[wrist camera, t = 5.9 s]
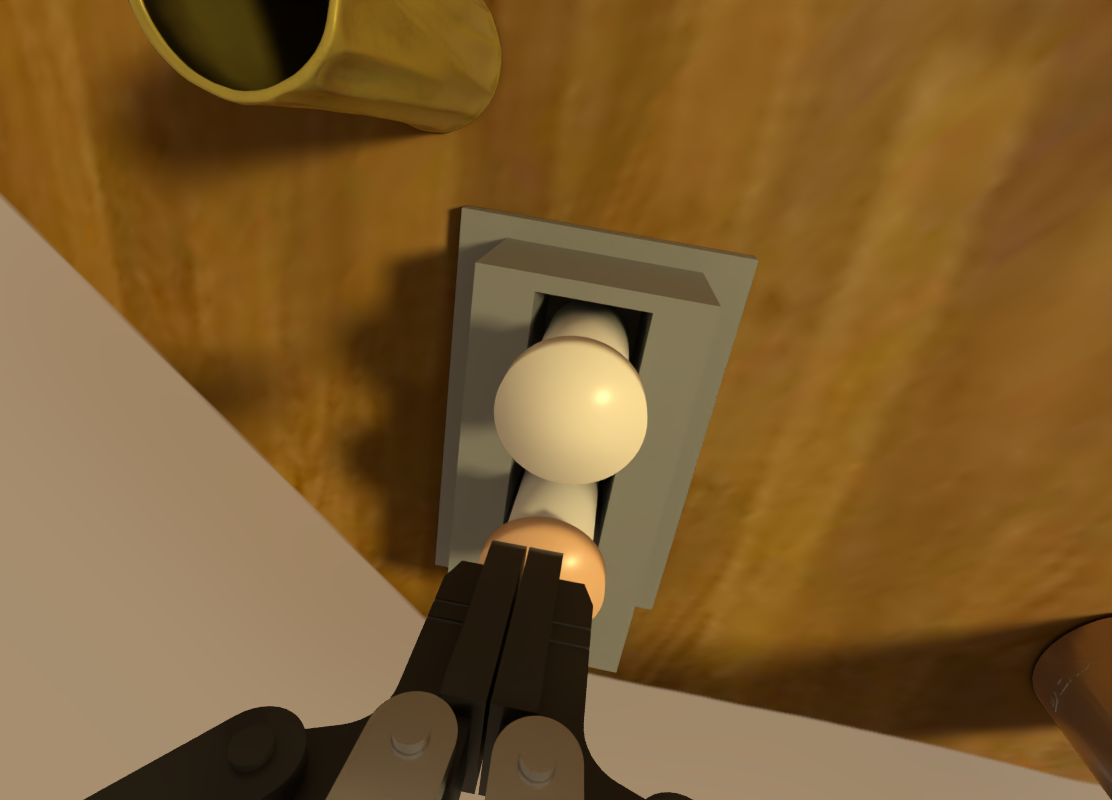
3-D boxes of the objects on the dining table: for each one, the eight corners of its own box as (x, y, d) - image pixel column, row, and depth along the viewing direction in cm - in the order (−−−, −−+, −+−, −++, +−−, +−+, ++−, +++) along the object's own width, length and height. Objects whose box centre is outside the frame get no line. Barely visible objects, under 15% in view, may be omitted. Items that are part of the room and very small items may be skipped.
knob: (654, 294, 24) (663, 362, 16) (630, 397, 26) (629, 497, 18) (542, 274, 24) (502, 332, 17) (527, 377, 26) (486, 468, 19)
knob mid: (620, 438, 27) (616, 549, 19) (602, 519, 29) (591, 647, 21) (521, 419, 27) (480, 521, 20) (510, 501, 29) (469, 620, 22)
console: (754, 256, 27) (791, 291, 20) (651, 598, 36) (655, 694, 30) (467, 205, 27) (418, 224, 21) (439, 554, 37) (400, 639, 31)
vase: (530, 68, 25) (419, -9, 12) (432, 162, 27) (246, 181, 14) (437, -66, 23) (192, -323, 10) (340, 45, 25) (36, -54, 12)
